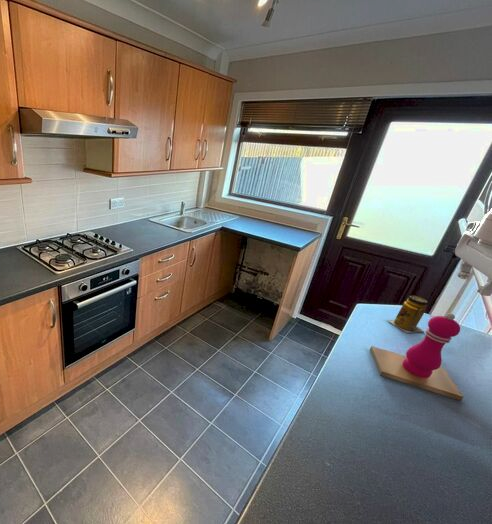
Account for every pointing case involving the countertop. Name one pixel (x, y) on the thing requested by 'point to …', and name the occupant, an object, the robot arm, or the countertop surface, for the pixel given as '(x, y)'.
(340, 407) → the countertop surface
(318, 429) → the countertop surface
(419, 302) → the condiment
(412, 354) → the pepper mill
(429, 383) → the chopping board
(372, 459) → the countertop surface
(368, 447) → the countertop surface
